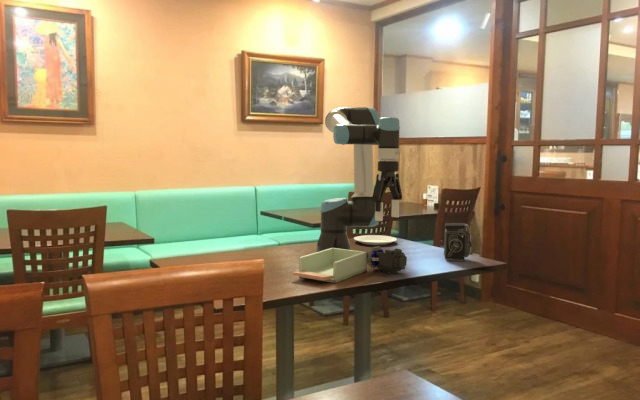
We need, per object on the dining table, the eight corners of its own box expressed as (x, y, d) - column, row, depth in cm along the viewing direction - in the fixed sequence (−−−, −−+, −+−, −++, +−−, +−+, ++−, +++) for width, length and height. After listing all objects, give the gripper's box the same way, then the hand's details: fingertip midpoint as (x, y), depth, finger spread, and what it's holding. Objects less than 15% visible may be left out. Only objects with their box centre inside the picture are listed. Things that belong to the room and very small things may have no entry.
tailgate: (303, 273, 178) (292, 275, 172) (303, 270, 178) (292, 272, 172) (333, 278, 171) (323, 280, 166) (334, 275, 171) (323, 277, 166)
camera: (471, 263, 203) (472, 226, 202) (444, 261, 205) (445, 225, 204) (469, 257, 213) (470, 222, 212) (443, 256, 215) (444, 221, 214)
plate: (387, 248, 233) (387, 243, 233) (346, 244, 244) (346, 239, 243) (402, 241, 252) (402, 237, 251) (364, 238, 262) (364, 233, 261)
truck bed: (299, 276, 178) (299, 257, 178) (332, 265, 196) (332, 247, 196) (335, 283, 170) (335, 262, 169) (366, 270, 188) (366, 252, 188)
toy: (377, 244, 195) (410, 250, 184) (376, 266, 196) (409, 273, 185) (363, 247, 189) (396, 253, 178) (362, 270, 189) (395, 277, 179)
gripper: (382, 160, 171) (381, 223, 173) (411, 160, 192) (410, 216, 194) (362, 160, 175) (361, 221, 177) (393, 160, 196) (392, 214, 198)
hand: (387, 218), depth 185 cm, fingers open, 13 cm apart
